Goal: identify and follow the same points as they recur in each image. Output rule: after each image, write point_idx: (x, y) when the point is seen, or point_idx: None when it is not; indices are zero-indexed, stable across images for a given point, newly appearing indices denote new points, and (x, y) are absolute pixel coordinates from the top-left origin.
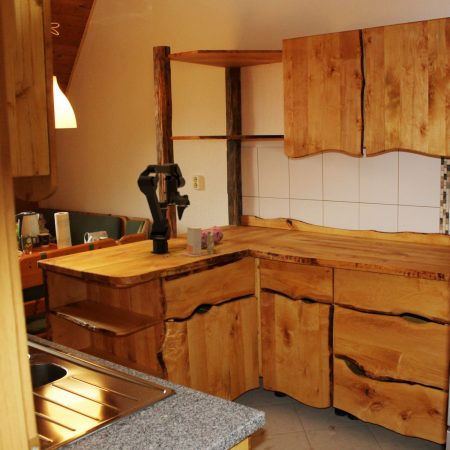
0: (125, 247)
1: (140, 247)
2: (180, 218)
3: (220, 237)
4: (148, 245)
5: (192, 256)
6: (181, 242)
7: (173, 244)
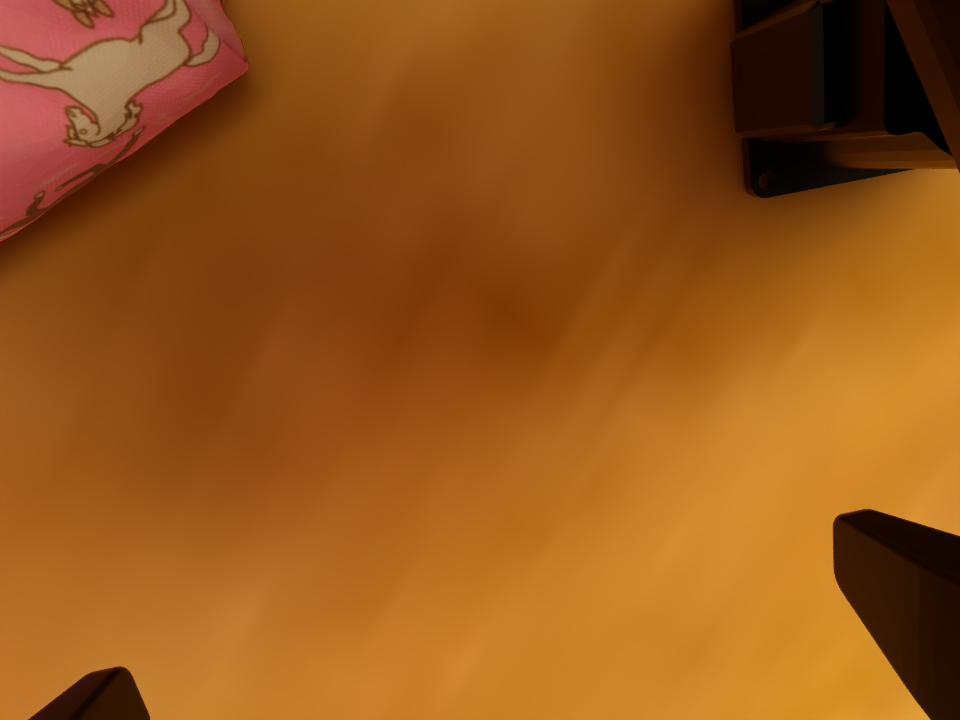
0: (892, 710)
1: (774, 619)
2: (76, 717)
3: None
4: (623, 684)
5: None
6: (150, 646)
7: (322, 573)
